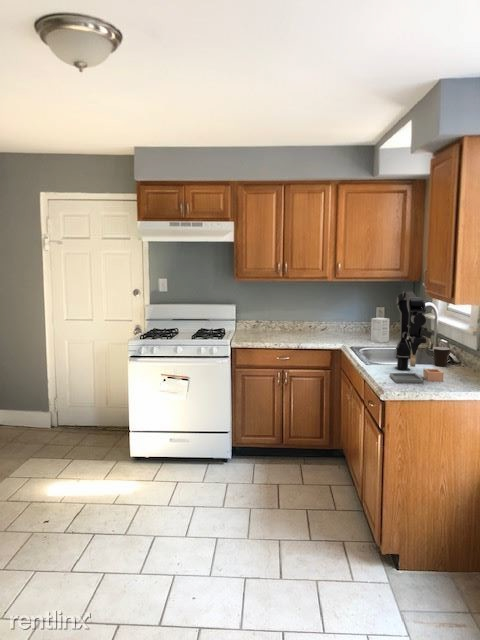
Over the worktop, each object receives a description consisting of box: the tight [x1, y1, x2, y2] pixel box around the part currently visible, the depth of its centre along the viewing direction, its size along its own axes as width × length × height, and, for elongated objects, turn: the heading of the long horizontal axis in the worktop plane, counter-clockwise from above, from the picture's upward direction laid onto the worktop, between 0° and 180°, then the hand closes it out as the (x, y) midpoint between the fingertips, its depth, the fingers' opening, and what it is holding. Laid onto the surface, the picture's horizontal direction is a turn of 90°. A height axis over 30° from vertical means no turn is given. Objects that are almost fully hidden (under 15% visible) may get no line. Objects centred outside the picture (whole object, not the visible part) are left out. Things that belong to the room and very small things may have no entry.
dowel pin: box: [409, 350, 417, 368], centre depth 245 cm, size 2×2×9 cm
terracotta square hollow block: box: [422, 368, 445, 382], centre depth 248 cm, size 7×7×4 cm
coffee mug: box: [432, 346, 450, 368], centre depth 278 cm, size 12×9×10 cm
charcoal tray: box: [389, 372, 425, 385], centre depth 246 cm, size 13×13×2 cm
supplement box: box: [370, 317, 390, 344], centre depth 354 cm, size 10×9×17 cm
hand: (413, 354), depth 245 cm, fingers closed on dowel pin, 2 cm apart
